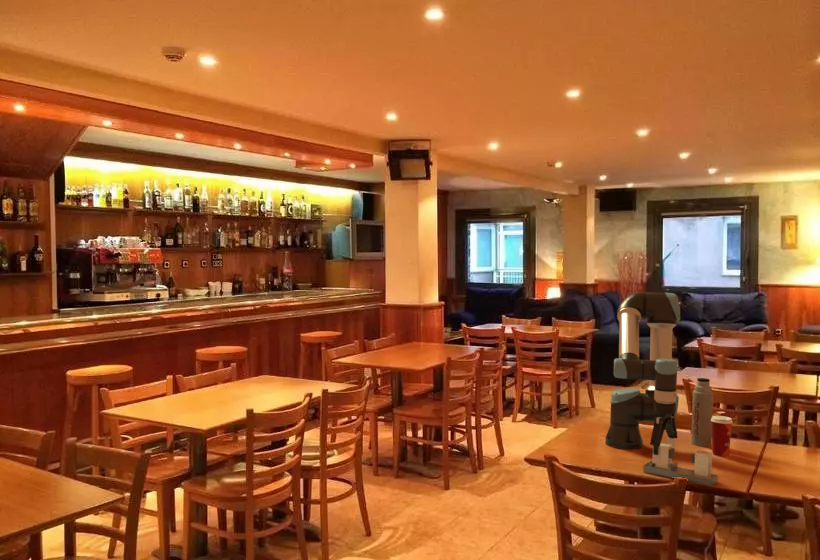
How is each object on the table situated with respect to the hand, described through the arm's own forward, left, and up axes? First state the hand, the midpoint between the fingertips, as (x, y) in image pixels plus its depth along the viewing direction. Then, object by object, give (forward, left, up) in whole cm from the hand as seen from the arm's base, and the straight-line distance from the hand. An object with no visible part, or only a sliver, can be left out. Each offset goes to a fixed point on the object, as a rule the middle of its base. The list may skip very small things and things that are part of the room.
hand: (663, 459), depth 255 cm
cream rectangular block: (0, 0, -3) cm, 3 cm away
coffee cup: (+8, +41, -5) cm, 42 cm away
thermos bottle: (-3, +52, -5) cm, 52 cm away
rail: (+6, 0, -5) cm, 8 cm away
